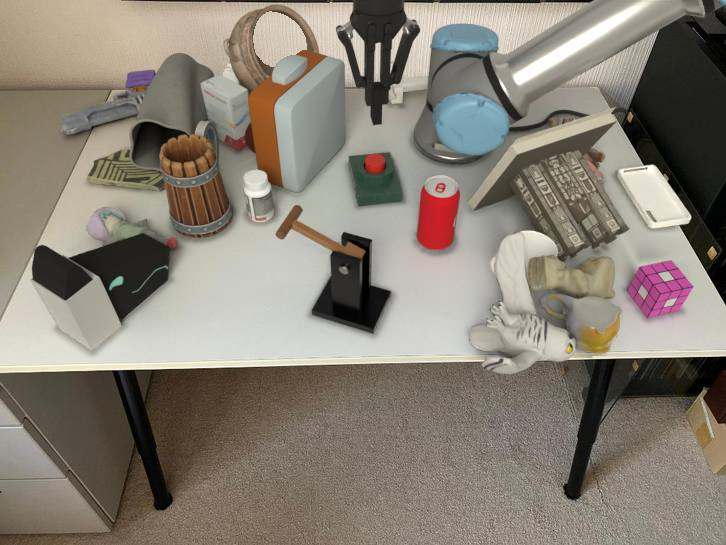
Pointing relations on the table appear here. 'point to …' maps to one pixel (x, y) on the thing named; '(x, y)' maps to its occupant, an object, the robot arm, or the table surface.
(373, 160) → the button
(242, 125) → the ink box
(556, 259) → the sculpture
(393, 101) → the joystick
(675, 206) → the phone case
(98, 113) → the handgun
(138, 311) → the table surface
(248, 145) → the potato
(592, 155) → the figurine
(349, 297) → the bracket
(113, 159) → the pottery shard
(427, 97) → the robot arm
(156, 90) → the vase
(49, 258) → the decorative object
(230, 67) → the toy car
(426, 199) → the beverage can
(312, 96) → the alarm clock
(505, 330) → the toy
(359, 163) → the button box
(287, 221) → the lever
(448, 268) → the table surface
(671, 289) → the puzzle toy
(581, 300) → the mug
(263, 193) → the pill bottle
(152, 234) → the toy
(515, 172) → the building model
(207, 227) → the mug
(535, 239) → the cup
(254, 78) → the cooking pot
